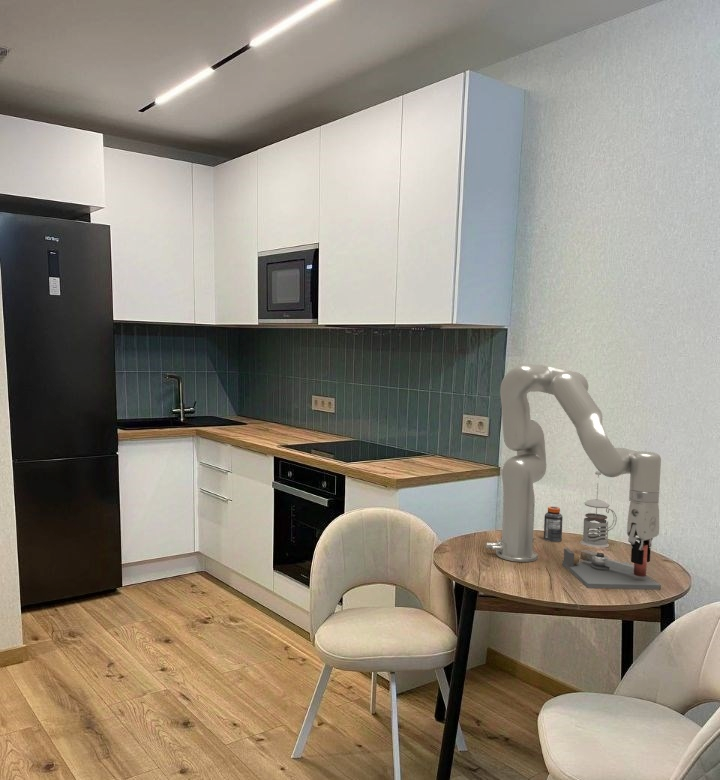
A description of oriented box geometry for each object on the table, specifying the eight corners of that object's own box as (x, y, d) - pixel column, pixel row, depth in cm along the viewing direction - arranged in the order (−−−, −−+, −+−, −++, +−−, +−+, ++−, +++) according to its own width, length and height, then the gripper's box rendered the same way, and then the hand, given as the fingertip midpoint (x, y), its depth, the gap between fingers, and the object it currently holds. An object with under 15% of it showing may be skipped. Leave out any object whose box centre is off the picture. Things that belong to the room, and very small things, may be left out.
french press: (575, 539, 220) (578, 468, 219) (607, 540, 221) (611, 468, 219) (586, 548, 210) (589, 473, 209) (620, 548, 211) (624, 474, 210)
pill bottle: (549, 536, 223) (550, 504, 223) (564, 540, 219) (566, 507, 218) (540, 539, 219) (541, 506, 219) (556, 543, 215) (557, 510, 214)
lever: (641, 578, 174) (643, 547, 174) (578, 560, 189) (579, 531, 189) (649, 575, 177) (650, 544, 176) (586, 557, 192) (588, 529, 191)
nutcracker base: (587, 587, 172) (588, 568, 172) (562, 564, 192) (563, 547, 192) (660, 589, 172) (661, 570, 172) (627, 565, 192) (628, 548, 192)
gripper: (643, 502, 168) (639, 571, 168) (670, 495, 178) (667, 560, 179) (616, 497, 173) (612, 563, 174) (644, 491, 184) (640, 553, 185)
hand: (640, 561), depth 177 cm, fingers closed on lever, 3 cm apart
